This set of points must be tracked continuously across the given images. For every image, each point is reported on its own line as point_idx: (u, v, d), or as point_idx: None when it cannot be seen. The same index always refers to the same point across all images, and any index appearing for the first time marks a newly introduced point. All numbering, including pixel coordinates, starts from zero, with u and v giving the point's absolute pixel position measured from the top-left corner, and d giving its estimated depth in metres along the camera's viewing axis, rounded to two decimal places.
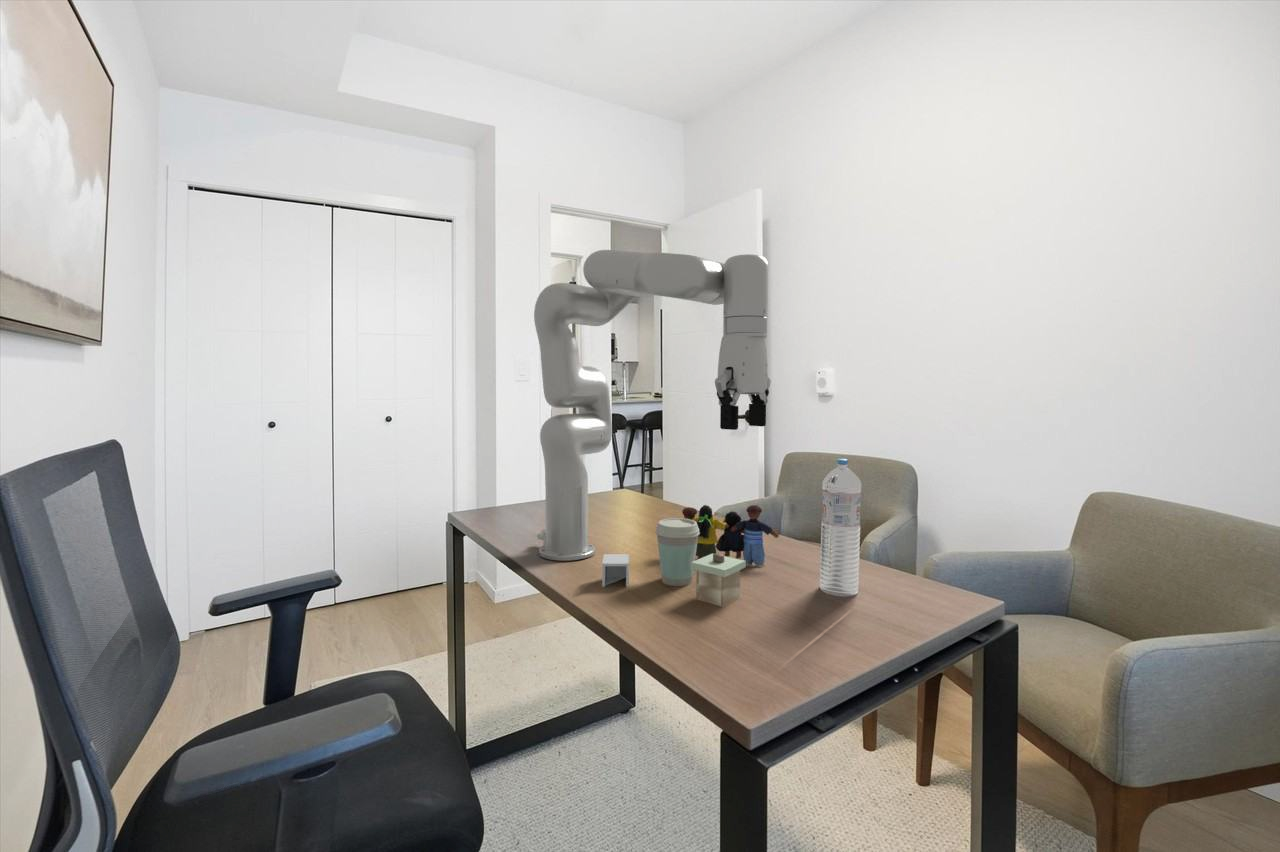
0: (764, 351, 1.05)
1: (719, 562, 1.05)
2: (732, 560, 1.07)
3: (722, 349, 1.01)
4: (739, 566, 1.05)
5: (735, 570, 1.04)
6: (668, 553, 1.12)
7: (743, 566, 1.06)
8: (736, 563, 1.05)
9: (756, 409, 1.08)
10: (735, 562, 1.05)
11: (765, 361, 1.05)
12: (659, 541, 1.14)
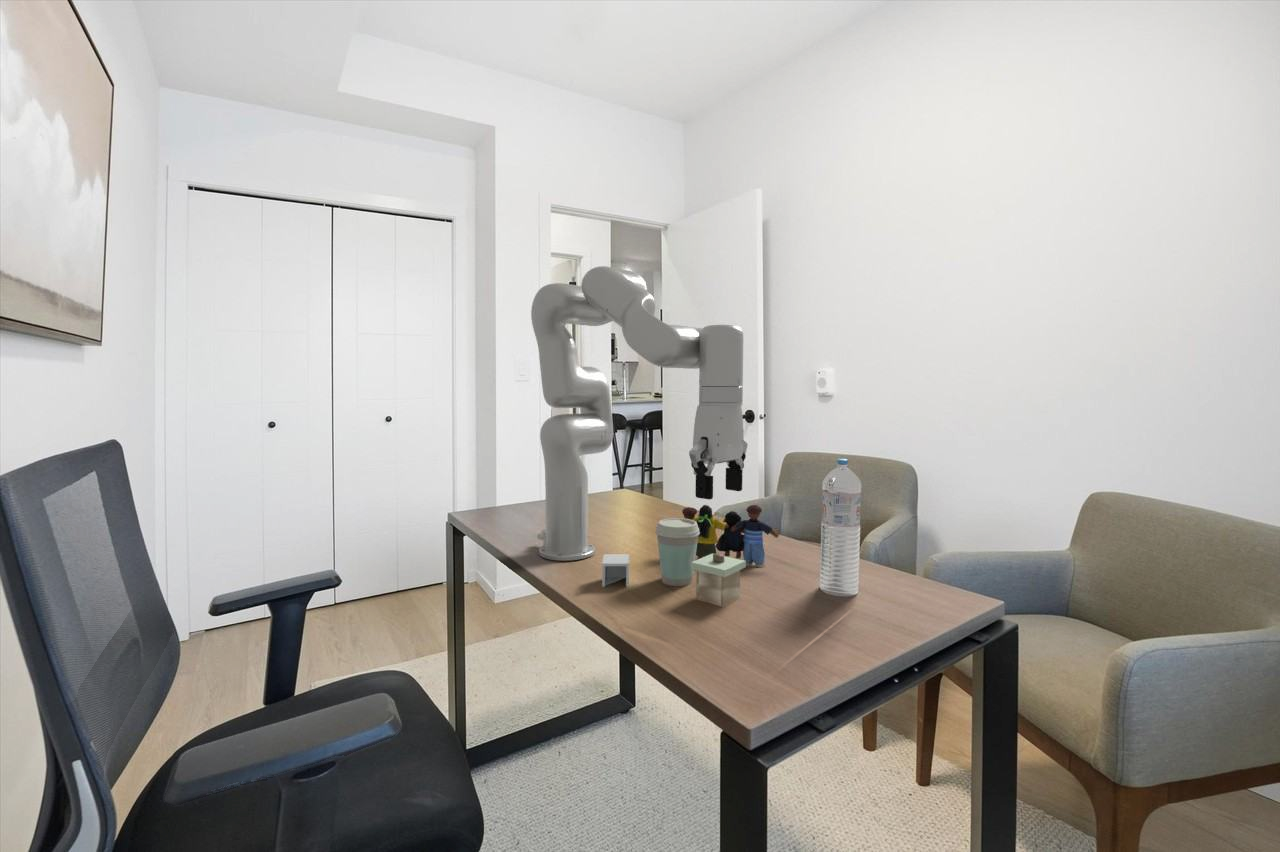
0: (740, 418, 1.05)
1: (719, 562, 1.05)
2: (732, 560, 1.07)
3: (697, 418, 1.02)
4: (739, 566, 1.05)
5: (735, 570, 1.04)
6: (668, 553, 1.12)
7: (743, 566, 1.06)
8: (736, 563, 1.05)
9: (733, 474, 1.08)
10: (735, 562, 1.05)
11: (741, 428, 1.05)
12: (659, 541, 1.14)
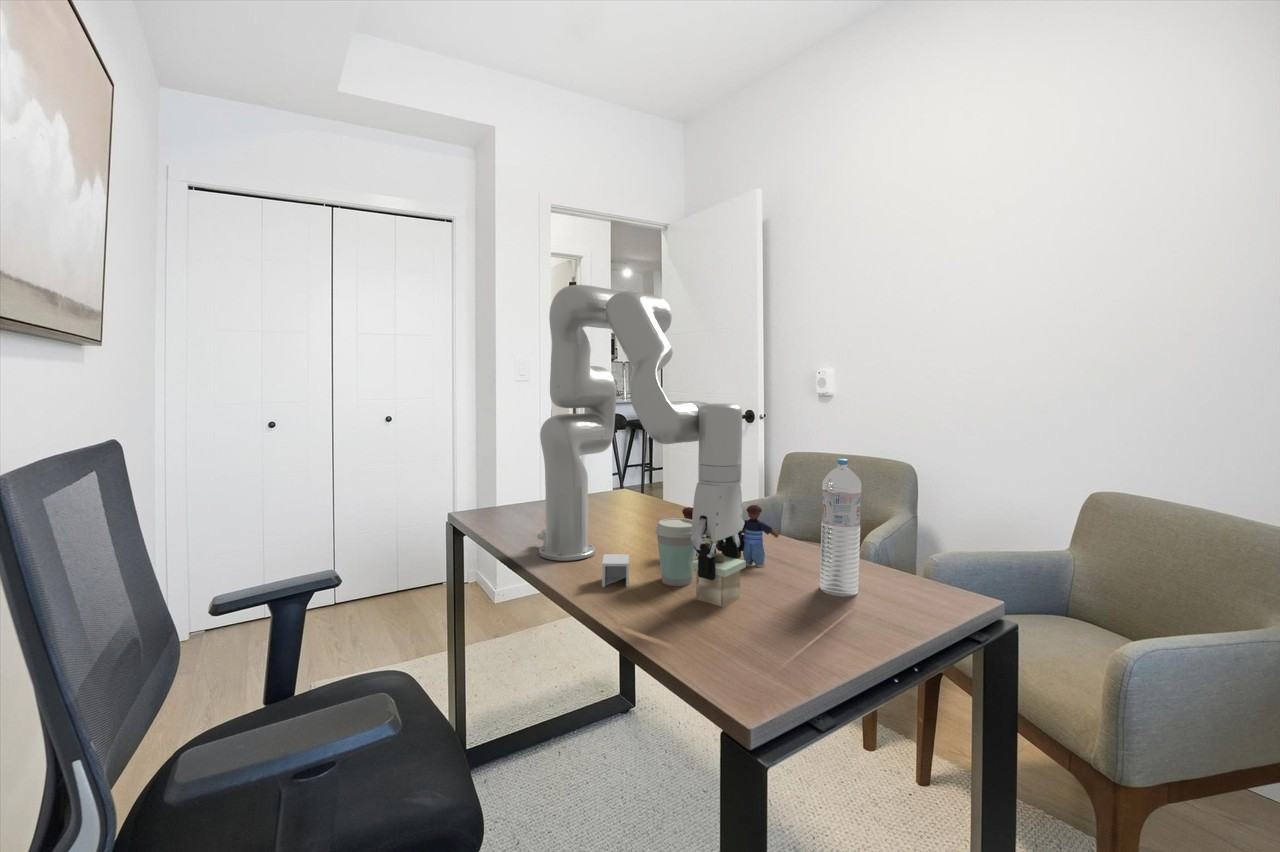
0: (739, 493, 1.06)
1: (719, 562, 1.05)
2: (732, 560, 1.07)
3: (696, 497, 1.03)
4: (739, 566, 1.05)
5: (735, 570, 1.04)
6: (668, 553, 1.12)
7: (743, 566, 1.06)
8: (736, 563, 1.05)
9: (729, 551, 1.09)
10: (735, 562, 1.05)
11: (740, 503, 1.06)
12: (659, 541, 1.14)
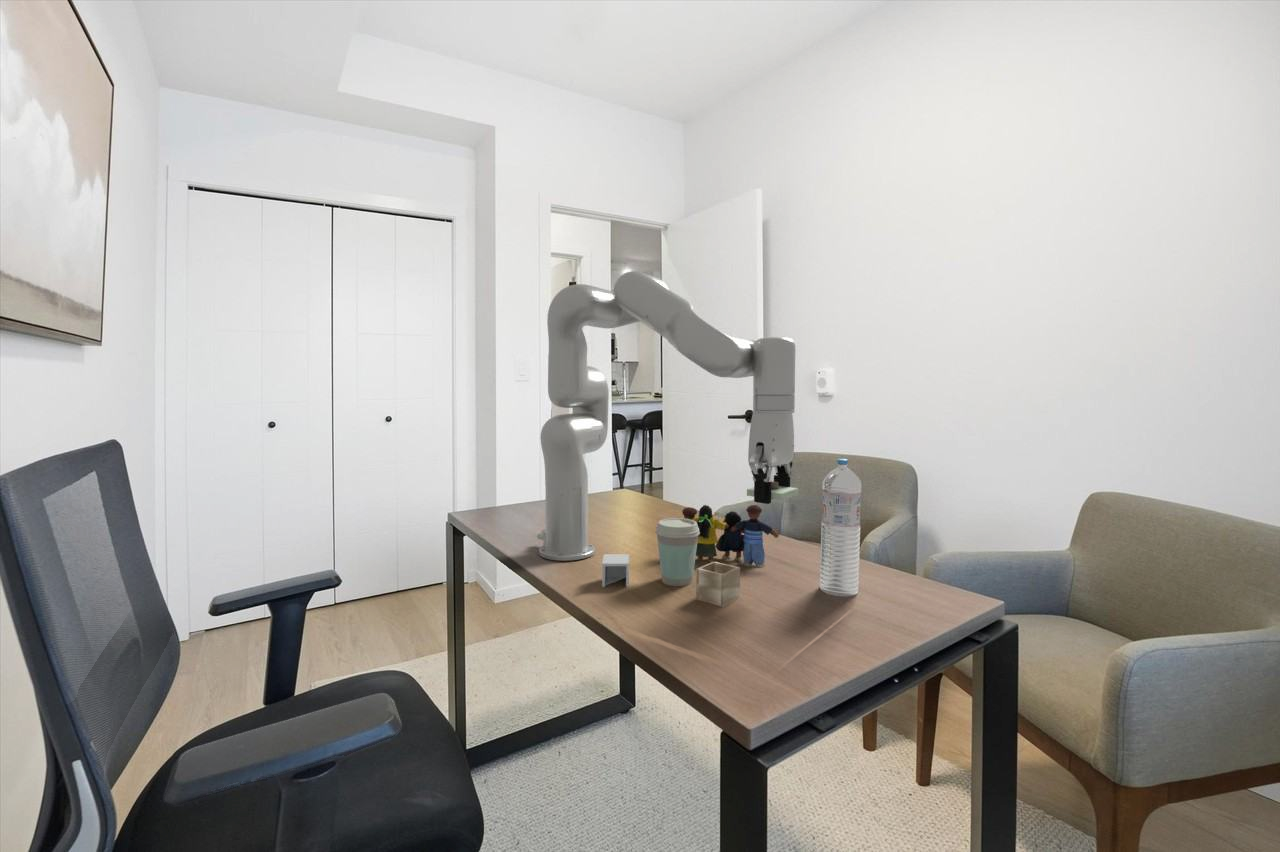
0: (792, 424, 1.12)
1: (774, 488, 1.11)
2: (785, 488, 1.12)
3: (753, 425, 1.08)
4: (793, 492, 1.11)
5: (789, 495, 1.10)
6: (668, 553, 1.12)
7: (796, 493, 1.12)
8: (790, 489, 1.11)
9: (781, 481, 1.14)
10: (789, 489, 1.11)
11: (792, 434, 1.12)
12: (659, 541, 1.14)
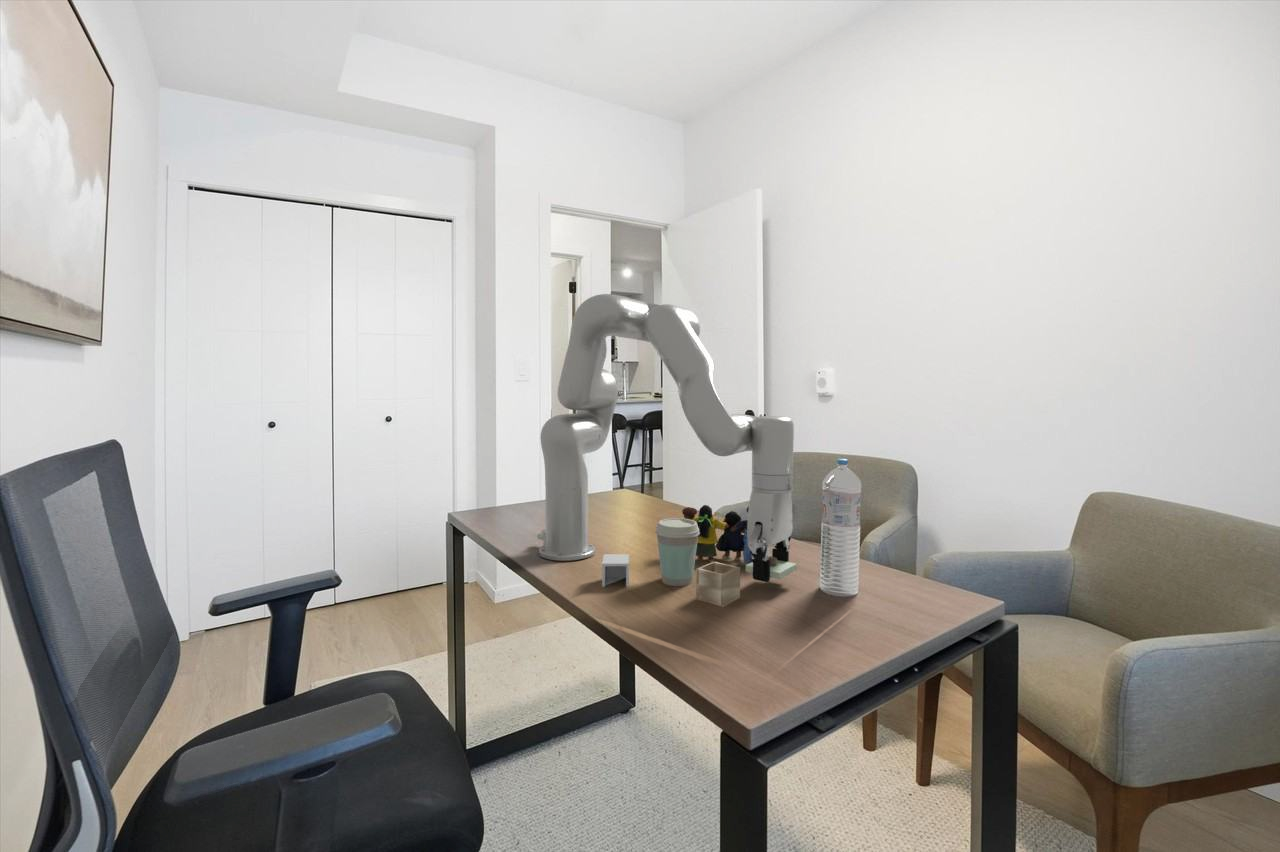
0: (790, 500, 1.13)
1: (772, 565, 1.12)
2: (784, 563, 1.14)
3: (752, 504, 1.09)
4: (791, 569, 1.12)
5: (788, 573, 1.11)
6: (668, 553, 1.12)
7: (794, 569, 1.13)
8: (788, 566, 1.12)
9: (779, 555, 1.15)
10: (787, 565, 1.12)
11: (790, 510, 1.13)
12: (659, 541, 1.14)
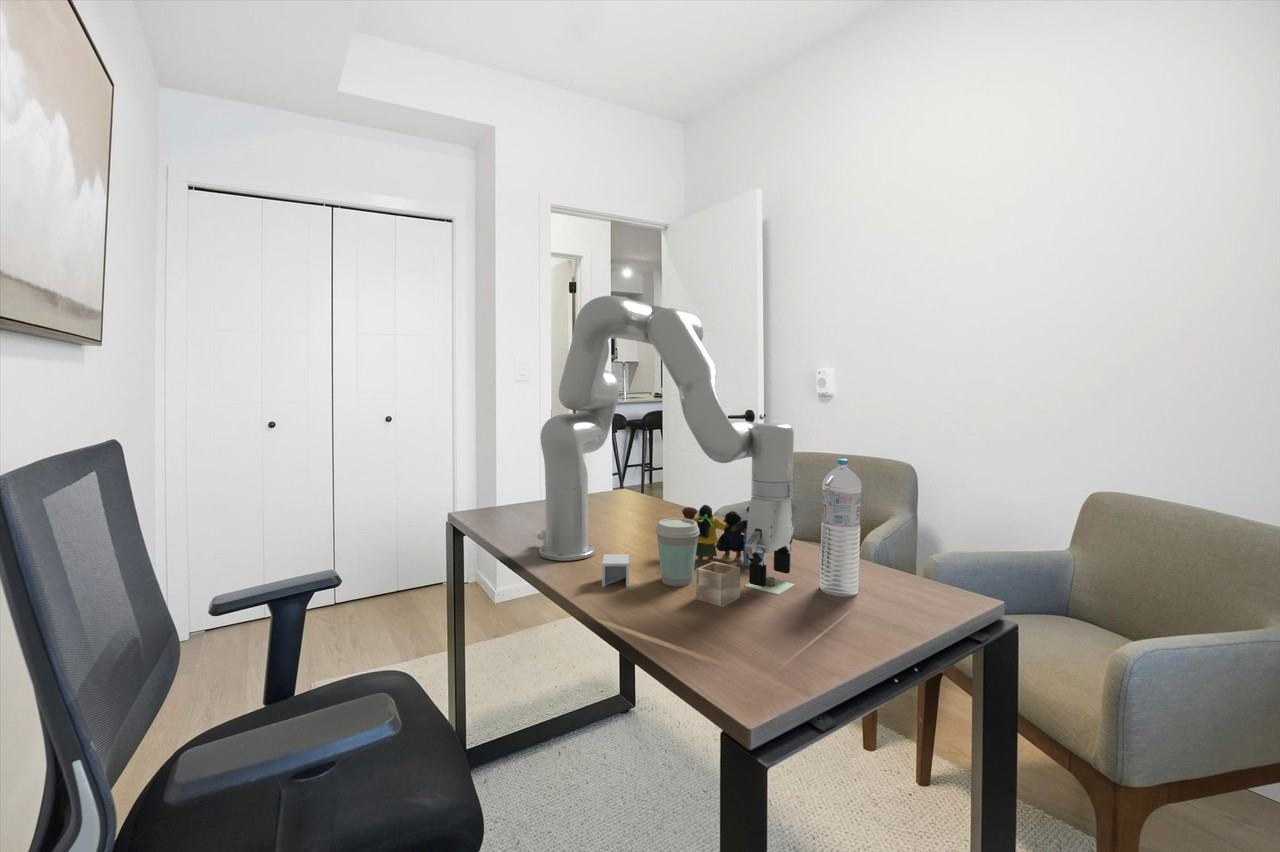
0: (789, 507, 1.13)
1: (771, 586, 1.12)
2: (782, 583, 1.14)
3: (751, 511, 1.10)
4: None
5: None
6: (668, 553, 1.12)
7: None
8: (787, 587, 1.12)
9: (781, 557, 1.16)
10: (786, 586, 1.13)
11: (790, 516, 1.13)
12: (659, 541, 1.14)
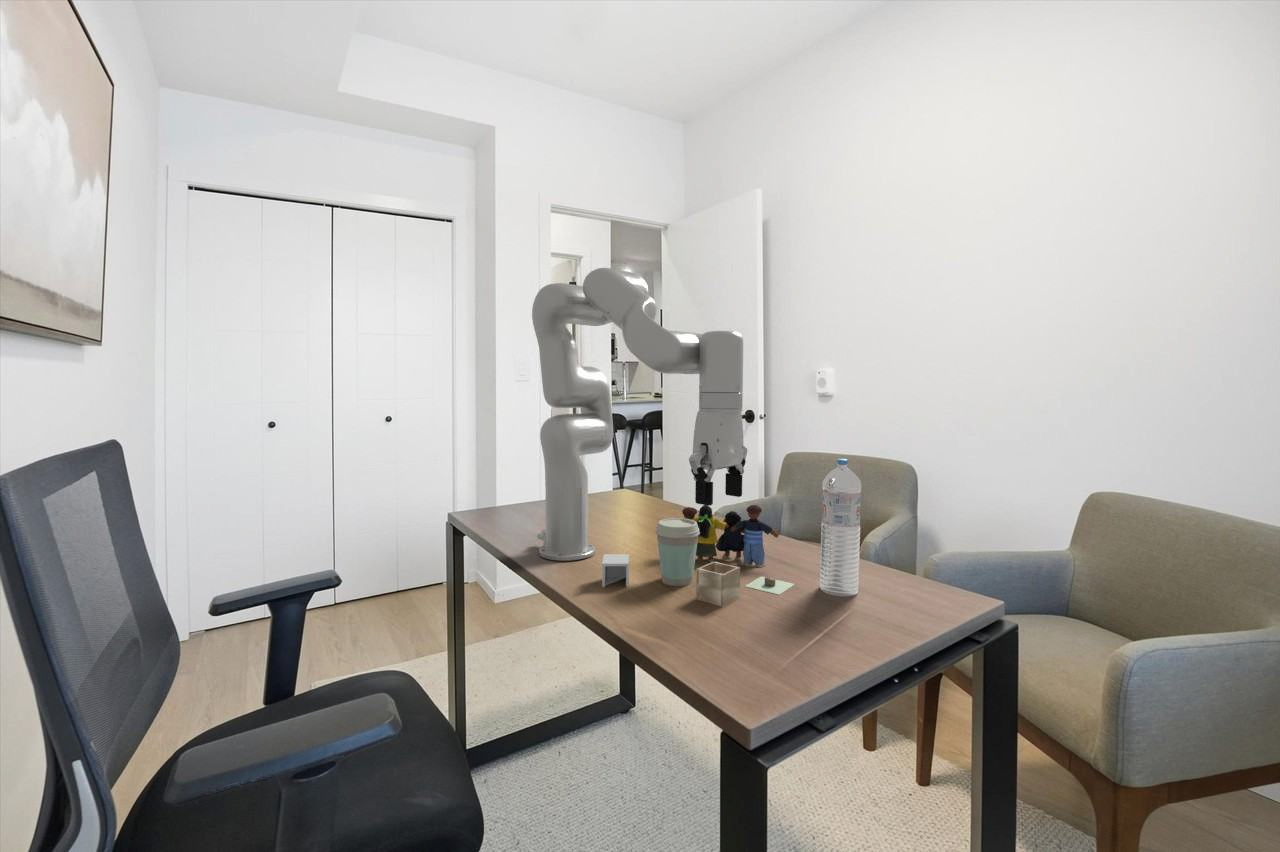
0: (740, 423, 1.05)
1: (771, 586, 1.12)
2: (782, 583, 1.14)
3: (697, 424, 1.02)
4: None
5: None
6: (668, 553, 1.12)
7: None
8: (787, 587, 1.12)
9: (733, 479, 1.08)
10: (786, 586, 1.13)
11: (741, 434, 1.05)
12: (659, 541, 1.14)
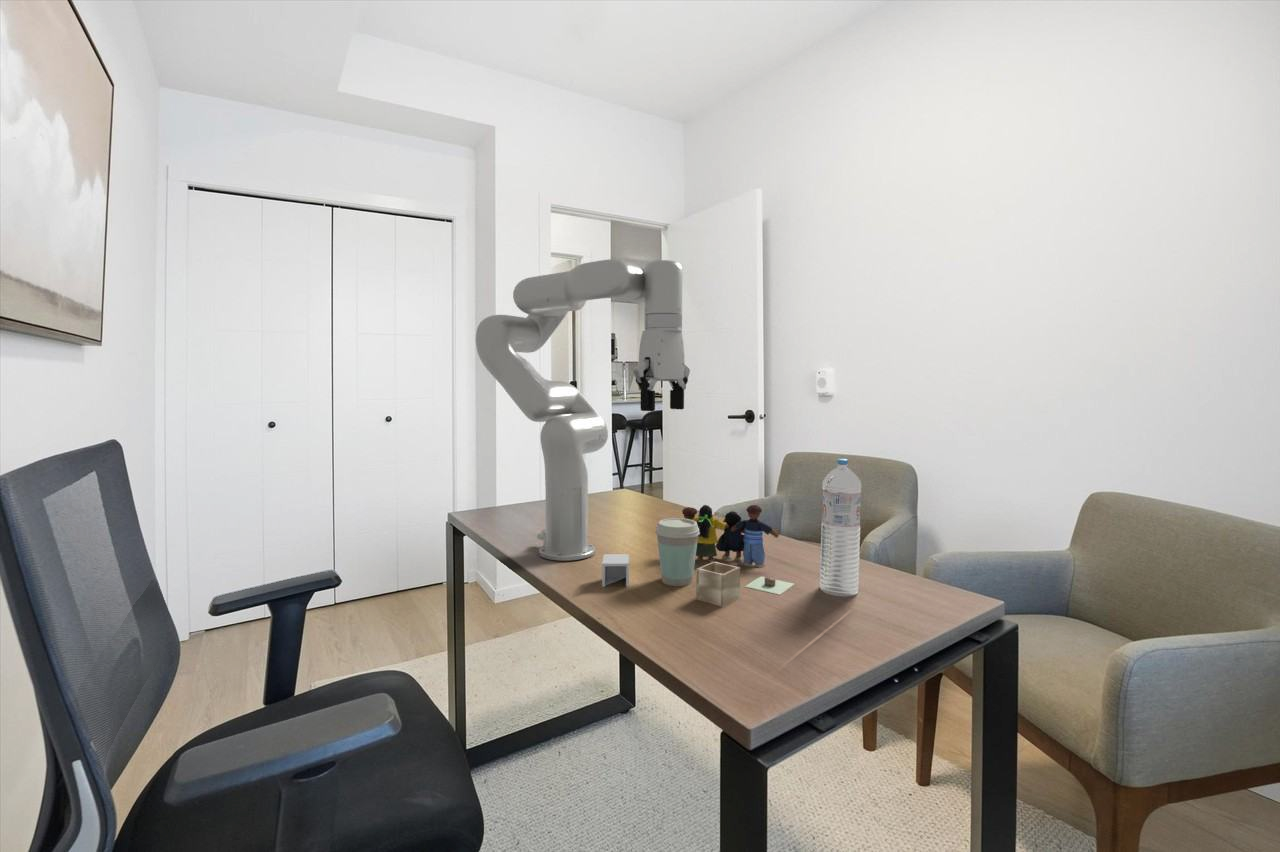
0: (681, 343, 1.21)
1: (771, 586, 1.12)
2: (782, 583, 1.14)
3: (642, 342, 1.17)
4: None
5: None
6: (668, 553, 1.12)
7: None
8: (787, 586, 1.12)
9: (676, 394, 1.24)
10: (786, 586, 1.13)
11: (681, 352, 1.21)
12: (659, 541, 1.14)
